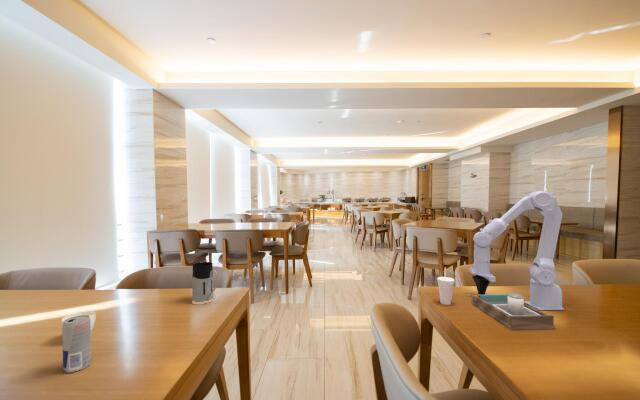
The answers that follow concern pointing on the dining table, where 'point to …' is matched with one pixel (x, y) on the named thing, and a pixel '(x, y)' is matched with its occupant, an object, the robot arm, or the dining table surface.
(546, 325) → the dock
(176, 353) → the dining table surface
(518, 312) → the disc stack
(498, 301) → the tray
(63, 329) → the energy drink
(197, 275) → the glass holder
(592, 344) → the dining table surface
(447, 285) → the smoothie
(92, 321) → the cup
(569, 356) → the dining table surface
